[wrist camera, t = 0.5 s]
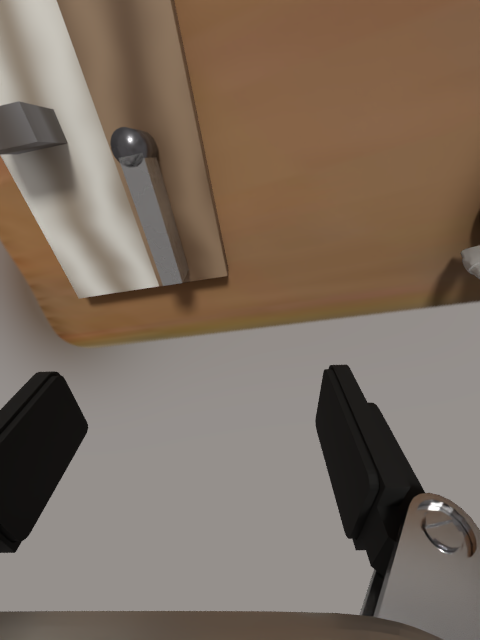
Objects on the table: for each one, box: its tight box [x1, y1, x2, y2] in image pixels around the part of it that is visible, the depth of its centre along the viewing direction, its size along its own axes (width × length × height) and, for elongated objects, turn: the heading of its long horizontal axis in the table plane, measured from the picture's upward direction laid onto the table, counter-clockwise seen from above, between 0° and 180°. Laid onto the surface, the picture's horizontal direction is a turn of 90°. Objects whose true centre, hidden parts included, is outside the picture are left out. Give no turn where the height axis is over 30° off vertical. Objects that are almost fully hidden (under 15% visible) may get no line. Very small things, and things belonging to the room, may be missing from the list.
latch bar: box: [110, 127, 189, 286], centre depth 24 cm, size 13×3×4 cm, turn 10°
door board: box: [0, 0, 228, 298], centre depth 23 cm, size 18×25×6 cm
